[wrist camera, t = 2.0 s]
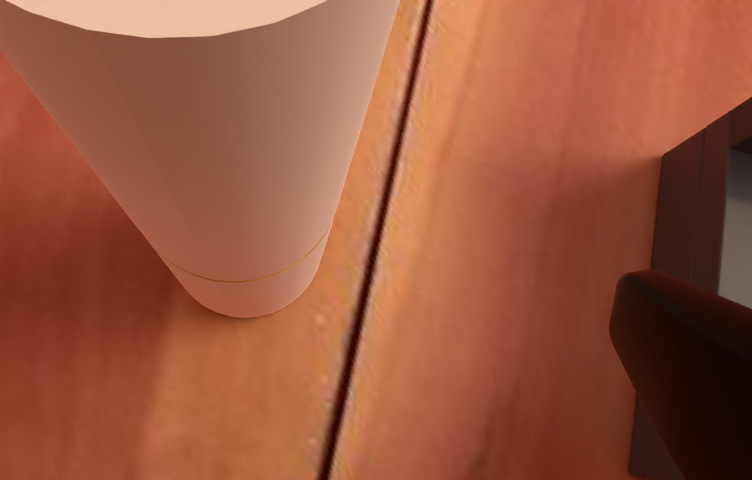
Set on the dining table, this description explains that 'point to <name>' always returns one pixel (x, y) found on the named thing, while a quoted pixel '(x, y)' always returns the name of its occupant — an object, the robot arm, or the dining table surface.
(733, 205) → the shelf
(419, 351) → the dining table surface
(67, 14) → the tube
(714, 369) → the robot arm
